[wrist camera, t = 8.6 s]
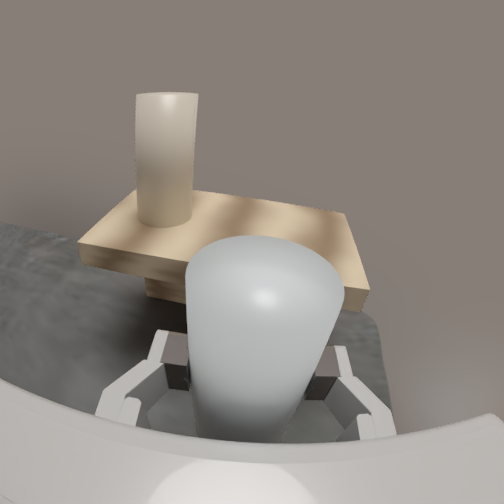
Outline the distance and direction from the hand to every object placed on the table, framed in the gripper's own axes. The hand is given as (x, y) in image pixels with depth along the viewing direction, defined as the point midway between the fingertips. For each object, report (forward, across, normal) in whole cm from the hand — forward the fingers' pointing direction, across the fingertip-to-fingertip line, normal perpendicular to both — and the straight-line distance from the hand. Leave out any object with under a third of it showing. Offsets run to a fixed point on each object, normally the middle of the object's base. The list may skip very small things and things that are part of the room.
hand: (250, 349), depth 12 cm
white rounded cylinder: (+14, +7, +2) cm, 16 cm away
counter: (+14, +2, +16) cm, 22 cm away
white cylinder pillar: (-1, 0, +6) cm, 6 cm away
